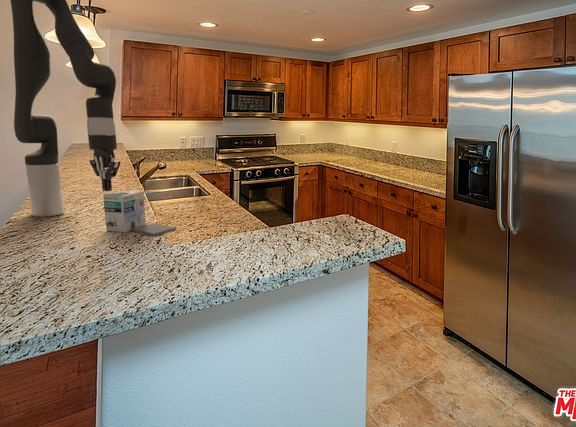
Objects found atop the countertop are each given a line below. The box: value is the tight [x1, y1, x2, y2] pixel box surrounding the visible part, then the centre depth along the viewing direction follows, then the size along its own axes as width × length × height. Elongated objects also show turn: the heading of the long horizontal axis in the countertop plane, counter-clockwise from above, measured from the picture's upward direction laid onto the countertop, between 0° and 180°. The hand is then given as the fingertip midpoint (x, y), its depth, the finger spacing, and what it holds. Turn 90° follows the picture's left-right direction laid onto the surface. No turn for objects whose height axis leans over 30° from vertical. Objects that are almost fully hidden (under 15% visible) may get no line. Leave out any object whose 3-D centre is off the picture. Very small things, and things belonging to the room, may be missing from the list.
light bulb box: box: [102, 189, 147, 233], centre depth 110 cm, size 11×7×11 cm, turn 168°
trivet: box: [131, 222, 177, 237], centre depth 109 cm, size 10×8×1 cm
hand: (107, 190), depth 113 cm, fingers closed
